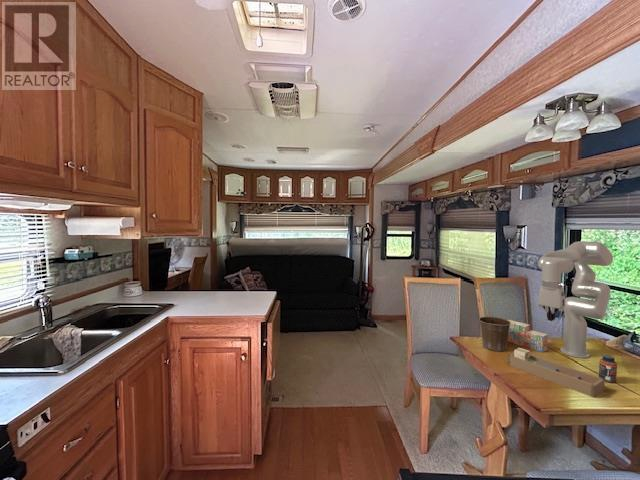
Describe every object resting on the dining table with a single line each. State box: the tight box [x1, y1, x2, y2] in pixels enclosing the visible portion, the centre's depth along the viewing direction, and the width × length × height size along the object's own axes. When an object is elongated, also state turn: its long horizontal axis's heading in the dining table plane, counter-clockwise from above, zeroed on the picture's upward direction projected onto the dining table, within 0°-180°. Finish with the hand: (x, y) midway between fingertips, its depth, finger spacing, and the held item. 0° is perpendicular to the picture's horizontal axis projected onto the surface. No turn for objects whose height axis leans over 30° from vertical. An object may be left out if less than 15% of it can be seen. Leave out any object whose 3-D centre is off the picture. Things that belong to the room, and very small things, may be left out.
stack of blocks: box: [507, 319, 549, 353], centre depth 180 cm, size 21×6×12 cm, turn 31°
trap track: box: [507, 352, 606, 398], centre depth 143 cm, size 11×34×5 cm, turn 31°
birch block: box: [513, 347, 531, 361], centre depth 154 cm, size 5×5×5 cm
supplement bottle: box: [598, 354, 618, 384], centre depth 139 cm, size 6×6×11 cm
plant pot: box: [478, 316, 511, 352], centre depth 176 cm, size 16×16×16 cm
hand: (550, 320), depth 151 cm, fingers closed
